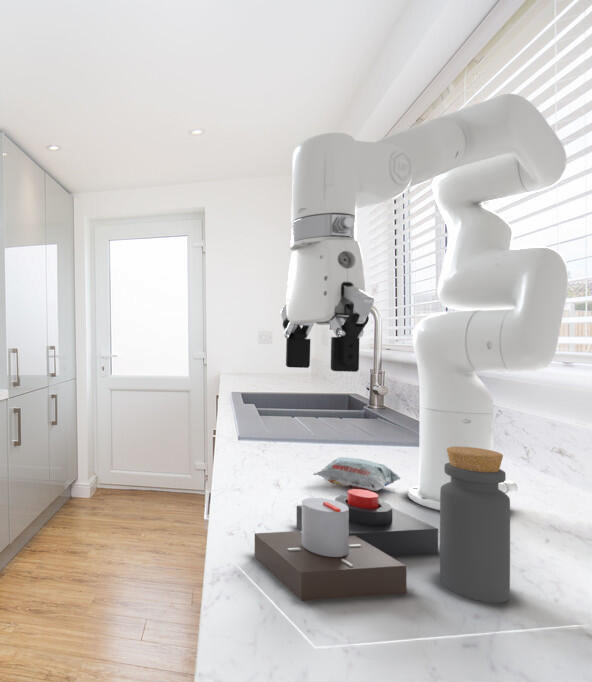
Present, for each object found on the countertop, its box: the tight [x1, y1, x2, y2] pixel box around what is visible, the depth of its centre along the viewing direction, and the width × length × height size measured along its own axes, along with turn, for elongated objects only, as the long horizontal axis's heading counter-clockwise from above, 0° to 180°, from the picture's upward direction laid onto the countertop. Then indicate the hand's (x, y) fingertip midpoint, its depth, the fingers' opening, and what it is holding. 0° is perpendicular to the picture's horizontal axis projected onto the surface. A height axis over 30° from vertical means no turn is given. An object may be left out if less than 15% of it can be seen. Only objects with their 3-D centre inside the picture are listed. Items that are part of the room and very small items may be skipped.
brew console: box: [254, 530, 408, 602], centre depth 55 cm, size 12×10×3 cm
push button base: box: [296, 494, 439, 557], centre depth 64 cm, size 13×10×5 cm
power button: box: [347, 488, 380, 509], centre depth 64 cm, size 4×4×2 cm
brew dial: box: [301, 497, 349, 557], centre depth 55 cm, size 5×5×5 cm
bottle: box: [439, 447, 511, 604], centre depth 51 cm, size 6×6×15 cm
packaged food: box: [312, 456, 401, 492], centre depth 87 cm, size 9×12×5 cm
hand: (319, 369), depth 61 cm, fingers open, 9 cm apart
